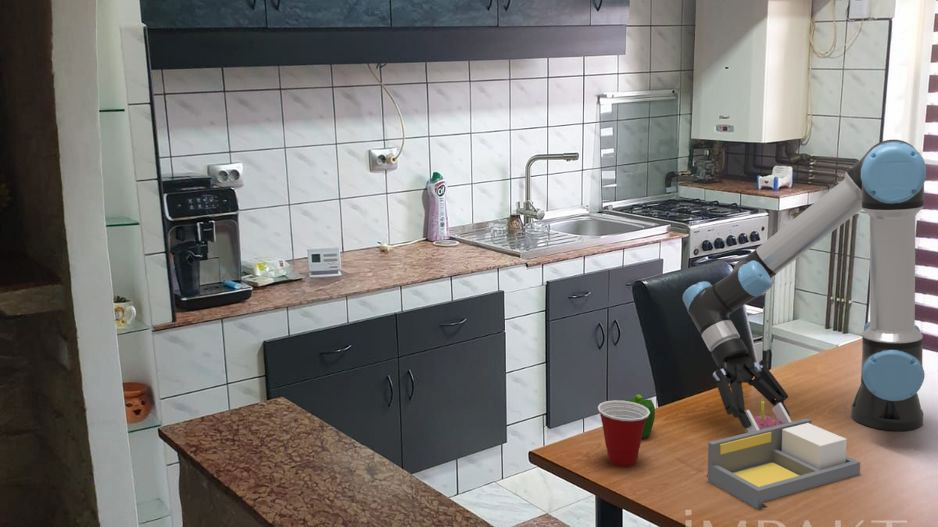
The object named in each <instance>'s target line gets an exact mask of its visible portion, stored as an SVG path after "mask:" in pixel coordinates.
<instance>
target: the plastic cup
mask: <svg viewBox="0 0 938 527" xmlns="http://www.w3.org/2000/svg"><path fill="white" fill-rule="evenodd" d="M597 409H598V413H599V416H600V419H601V420H600V421H601V424H602V429H603V437H604V443H605V448H606V452H607V458H608V461H609V463H610V464H611V465H613V466H614V467H615V466H616V467H619V468H621V467H622V468H626V467H633V466H635V465H636V463H637V461H638V459H639V450H640V448H641V444H642V439H643V438H642V433H643V428H644V425H645V421H646V419H647V418H648V416H649V414H650V411H649V409H648V408H646V407H644V406H643V405H640V404H637V403H634V402H628V401H621V400H606V401H603V402H601V403H599V405H598V406H597Z"/></svg>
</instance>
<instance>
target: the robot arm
mask: <svg viewBox="0 0 938 527" xmlns="http://www.w3.org/2000/svg"><path fill="white" fill-rule="evenodd" d="M926 179H927V165H926V163H925V160H924V157H923V156H922V154H921V153H920V152H919V151H918V150H917V149H916V148H915V147H914V146H913V145H912V144H910V143H909V142H907V141H904V140H902V139H887V140H886V139H885V140H883V141H881V142H877V143H876V144H875V145H873V146H872V147H871V148H870V149H869V150H868V151H867V152H866V153H865V154H864V155H863V156H862V158H860V159H859V160H858V161H857V162H856V163H855V164H854V165H853V166H852V167H850V169H848V170H847V171H846V172H845V173H844V179H843V180H842V181H840V182H839V183H838V184H836V185H835V186H834V187H833V188H832V189H830V190H829V191H828V192H826V193H825V194H824V195H823V196H821V197H819V199H817V201H815V202H814V203H812V204H811V205H809V207H807V208H806V209H805V210H804V211H802V212H800V214H798V215H796V217H795V218H793V219H792V220H791V221H789V222H788V223H787V224H786V225H784V226H783V227H782V228H781V229H779V230H778V231H777V232H776V233H775V234H773V235H772V236H771V237H769V238H768V239H767V240H766V241H764V242H763V243H762V244H760V245H758V247H756V249H754V250H753V251H752V252H750V253H749V254H748V255H746V256H744V257H742V258H741V259H740V260H739V261H737V262H736V263H735V265H734V267H733V269H732V270H731V272H730V273H729V274H728V275H726V276H725V277H723V278H722V279H721V280H719V281H717V282H715V283H714V284H711V282H710V281H699V282H697V283H695V284H692V285H690V286H689V287H688V288H687V289H686V290H685V291H684V293H683V294H682V301H683V303H684V306H685V307H686V310H687V313H688V315H689V316H690V318H691V319H692V322H693V323H694V325H695V327H696V328H697V330H698V332H699V334H700V335H701V336H700V337H701V338H702V340H703V341H704V344H705V345H706V347H707V349H708V351H709V352H710V353H711V357H712V359H713V361H714V363H715V364H716V366H717V367H718V368H717V369H716V370H715V371H714V372H713V373H712V374H711V378H712V380H713V381H714V382H715V384H716V387H717V390H718V392H719V395H720V398H721V401H722V404H723V407H724V410H725V413H726V415H728V416H730V415H731V416H733V417H734V418H738V420H739V422H740V424H741V426H742V427H743V429H744V428H745V429H747V431H748V432H753V431H757V430H760V429H759V427H758V426H757V424H756V422H755V420H754V418H753V417H754V416H753V414H752V412H751V411H750V409H747V410H746V406H745V399H744V392H743V391H744V390H743V384H746V383H747V384H748V385H749V386H750V387H753V388H754V389H755V390H756V391H757V392H759V394H760V395H761V396H763V397H764V398H765V399H766V400H767V401H768V402H769V403H770V404H771V405H772V406H773V407H772V408H771V409H772V410H771V411H773V414H774V416H775V418H776V419H777V420H779V421H781V423H782V424H786V423H790V422H793V421H792V419H791V418H790V416H791V414H790V412H789V410H788V408H787V407H786V405H785V403H784V402H785V401H786V400H787V399H788V398H789V394H788V393H787V392H786V391H785V389H784V388H783V386H782V385H781V384H780V383H779V382H778V380H777V378H775V376H774V374H772V372H771V371H770V369H769V368H768V366H767V362H766V361H765V360H764V359H762V360H760V361H757V362H754V360H752V359H751V358H750V356H749V350H748V347H747V346H746V343H745V342H744V341H743V339H742V338H740V337H741V335H740V333H739V332H738V330H737V328H736V327H735V324H734V323H733V321H732V320H731V318H730V314H733V313H734V312H735V311H736V310H738V309H740V308H742V307H743V306H744V305H746V304H748V303H750V302H751V301H752V300H755V299H756V298H758V297H761V296H763V294H764V293H766V292H767V291H769V290H770V289H771V288H772V286H773V281H772V278H773V277H774V276H776V275H777V274H778V273H780V272H781V271H782V270H783V269H786V267H788V266H789V265H790V264H791V263H793V262H794V261H796V260H797V259H798V258H799V257H800V256H802V255H803V254H805V253H806V252H807V251H809V250H810V249H811V248H813V247H814V246H815V245H816V244H818V243H819V242H820V241H821V240H823V239H824V238H826V237H827V236H829V235H830V234H831V233H832V232H834V231H835V230H837V229H838V228H839V227H841V226H842V225H843V224H845V223H846V222H847V221H848V220H850V219H851V218H852V217H854V216H855V215H856V214H857V213H859V212H861V211H862V210H863V211H864V212H865V213H866V214H867V215H868V216H869V321H868V322H866V323H864V325H863V332H862V333H861V334H862V335H861V336H862V337H861V338H862V340H861V341H862V342H861V343H862V344H861V345H862V348H861V349H862V350H861V351H862V352H861V353H862V354H861V372H860V373H861V374H860V386H859V387H858V390H857V392H856V395H855V397H854V400H853V402H852V404H851V407H850V408H851V409H850V416H851V418H852V420H854V421H855V422H857V423H859V424H861V425H864V426H865V427H869V428H873V429H876V430H877V429H878V430H883V431H892V432H893V431H894V432H895V431H896V432H899V431H900V432H901V431H902V432H903V431H904V432H905V431H910V430H911V431H912V430H916V429H919V428H921V427H922V426H923V424H924V411H923V409H922V408H921V407H922V406H921V402H920V398H919V395H918V392H919V391H920V390H921V387H922V386H923V383H924V381H925V370H924V367H923V350H924V349H923V344H924V343H923V341H924V340H923V338H924V336H923V334H922V333H921V329H920V327H919V326H918V325H917V324H915V323H916V322H915V321H916V318H915V315H916V314H915V312H916V299H915V298H916V217H917V215H918V213H919V212H920V211H921V210H922V209H924V207H925V206H924V205H925V202H924V201H925V200H924V199H925V182H926V181H925V180H926Z"/></svg>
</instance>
